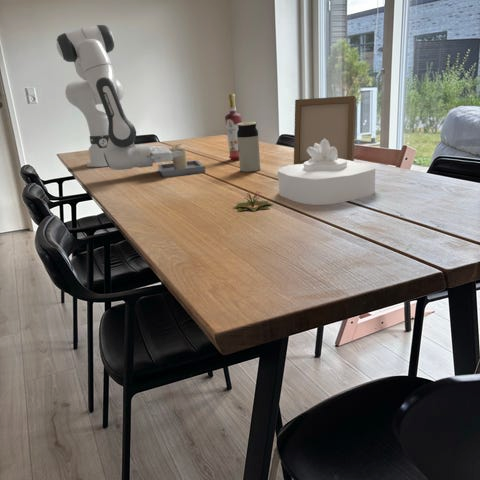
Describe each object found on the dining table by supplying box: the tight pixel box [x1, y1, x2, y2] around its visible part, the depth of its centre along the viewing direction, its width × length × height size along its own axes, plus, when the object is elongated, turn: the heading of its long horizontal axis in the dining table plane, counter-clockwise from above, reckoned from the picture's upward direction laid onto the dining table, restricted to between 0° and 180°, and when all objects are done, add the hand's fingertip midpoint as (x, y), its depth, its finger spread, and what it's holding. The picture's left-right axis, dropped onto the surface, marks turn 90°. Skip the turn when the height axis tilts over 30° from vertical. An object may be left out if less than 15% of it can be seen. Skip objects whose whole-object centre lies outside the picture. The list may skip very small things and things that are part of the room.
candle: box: [171, 143, 187, 169], centre depth 189 cm, size 6×6×10 cm
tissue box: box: [277, 138, 376, 206], centre depth 136 cm, size 25×25×16 cm
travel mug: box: [237, 121, 261, 173], centre depth 178 cm, size 8×8×18 cm
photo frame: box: [293, 95, 357, 165], centre depth 175 cm, size 15×22×25 cm
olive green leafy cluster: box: [232, 191, 274, 212], centre depth 129 cm, size 12×12×5 cm
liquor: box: [224, 93, 243, 161], centre depth 204 cm, size 7×7×28 cm
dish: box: [157, 159, 206, 179], centre depth 190 cm, size 17×17×2 cm
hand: (181, 151), depth 188 cm, fingers open, 8 cm apart
